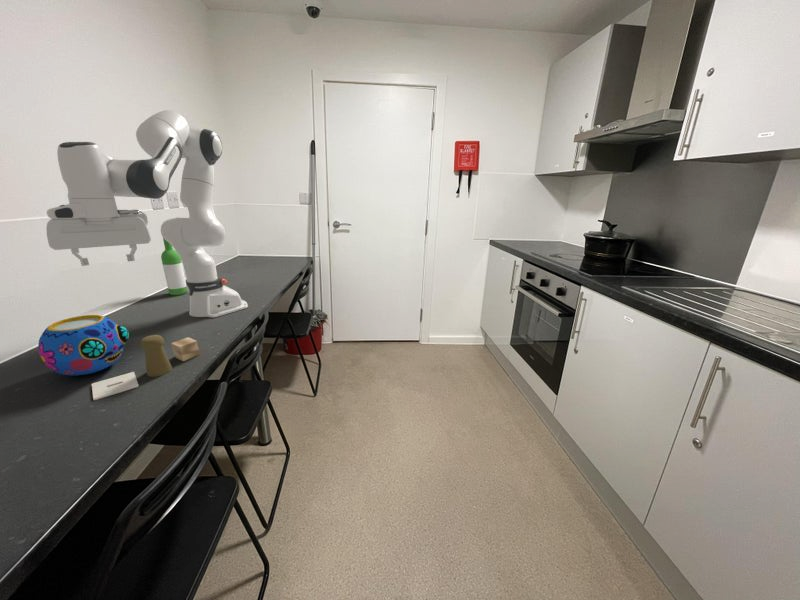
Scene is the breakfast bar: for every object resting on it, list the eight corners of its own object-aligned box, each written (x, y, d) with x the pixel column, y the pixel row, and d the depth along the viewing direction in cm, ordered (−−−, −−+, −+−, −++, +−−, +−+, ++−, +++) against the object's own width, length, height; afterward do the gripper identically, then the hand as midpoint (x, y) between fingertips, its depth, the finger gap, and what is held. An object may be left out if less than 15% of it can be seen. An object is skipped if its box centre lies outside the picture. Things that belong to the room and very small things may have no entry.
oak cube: (191, 351, 106) (188, 337, 105) (199, 355, 104) (196, 340, 102) (174, 357, 102) (171, 343, 101) (183, 361, 100) (179, 347, 98)
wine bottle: (168, 297, 156) (154, 234, 146) (170, 292, 163) (156, 232, 153) (187, 294, 160) (174, 233, 150) (188, 290, 166) (176, 231, 156)
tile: (134, 373, 93) (133, 371, 93) (138, 386, 87) (138, 384, 87) (92, 385, 87) (91, 383, 87) (93, 400, 81) (93, 398, 81)
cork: (159, 378, 91) (150, 342, 87) (141, 375, 92) (131, 340, 89) (177, 367, 97) (169, 333, 93) (160, 364, 98) (151, 331, 94)
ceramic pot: (95, 387, 86) (78, 336, 81) (30, 385, 87) (9, 334, 82) (145, 355, 103) (133, 311, 98) (90, 354, 103) (75, 310, 98)
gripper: (143, 208, 93) (153, 256, 97) (38, 210, 79) (56, 266, 83) (147, 210, 89) (158, 260, 93) (37, 211, 75) (56, 270, 79)
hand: (109, 263), depth 88 cm, fingers open, 8 cm apart
